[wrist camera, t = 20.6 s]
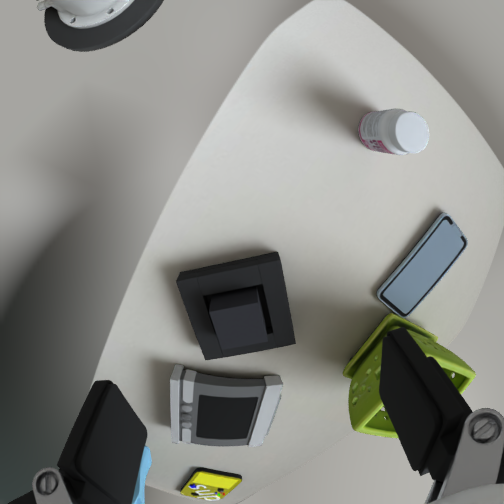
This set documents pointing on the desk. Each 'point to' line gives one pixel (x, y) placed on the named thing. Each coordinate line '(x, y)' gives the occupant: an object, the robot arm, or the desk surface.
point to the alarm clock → (221, 408)
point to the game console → (210, 484)
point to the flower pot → (368, 375)
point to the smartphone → (423, 267)
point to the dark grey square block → (238, 318)
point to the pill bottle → (394, 131)
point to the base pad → (232, 278)
